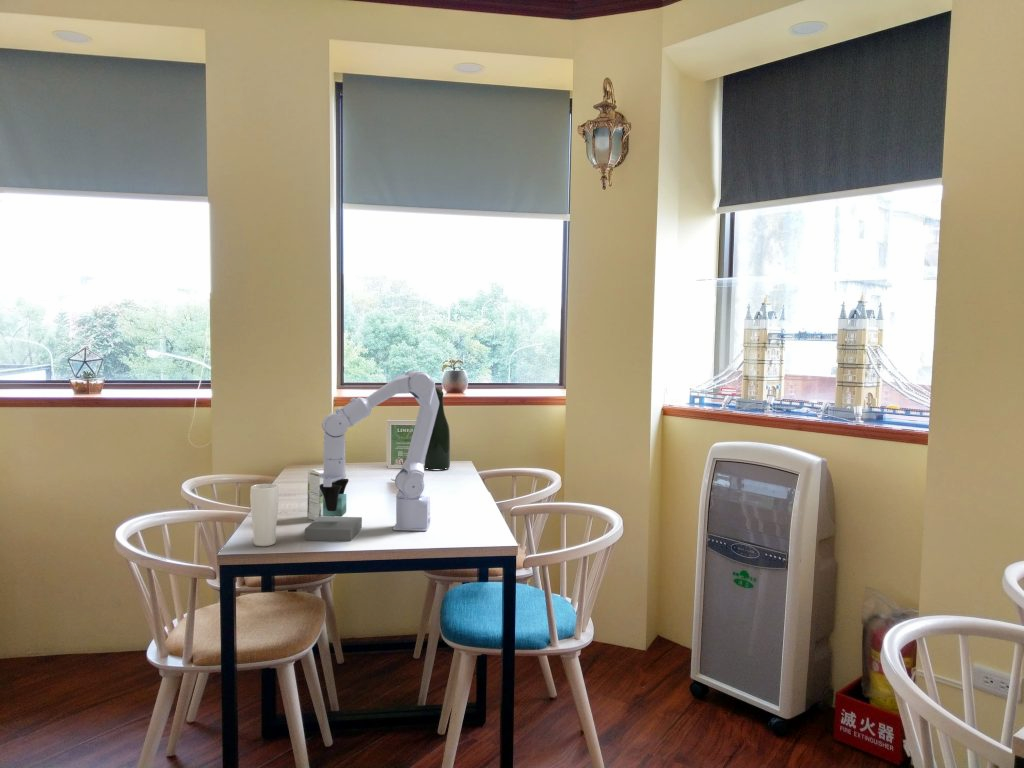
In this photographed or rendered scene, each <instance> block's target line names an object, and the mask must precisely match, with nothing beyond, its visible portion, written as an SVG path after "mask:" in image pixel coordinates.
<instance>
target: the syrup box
mask: <svg viewBox="0 0 1024 768" xmlns="http://www.w3.org/2000/svg"><path fill="white" fill-rule="evenodd" d="M323 472H324V467H321V468H314V469H309V470H307V519H309V520H312V521H314V520H316V519H317V518H318V517H319V516H323V497H324V496H323V493H322V491H321V490H320V485H321V484H323V480H324V479H323V478H322V477H319V474H323ZM323 517H336V516H323Z"/></svg>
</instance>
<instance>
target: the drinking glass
mask: <svg viewBox="0 0 1024 768" xmlns="http://www.w3.org/2000/svg"><path fill="white" fill-rule="evenodd" d="M249 495H250V497H249V500H250V501H249V502H250V514H251V525H252V534H253V545H255V546H256V547H269V546H273V545H275V543H276V541H277V540H276V539H277V536H276V534H277V522H278V521H277V520H278V511H279V485H278V484H275V483H260V484H258V483H257V484H254V485H251V486H250V492H249Z"/></svg>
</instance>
